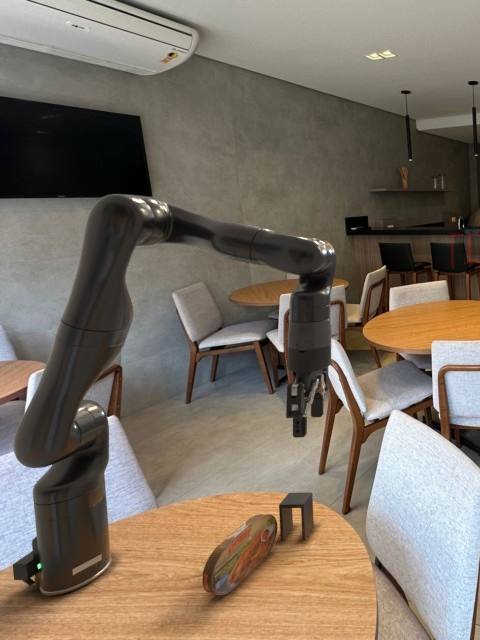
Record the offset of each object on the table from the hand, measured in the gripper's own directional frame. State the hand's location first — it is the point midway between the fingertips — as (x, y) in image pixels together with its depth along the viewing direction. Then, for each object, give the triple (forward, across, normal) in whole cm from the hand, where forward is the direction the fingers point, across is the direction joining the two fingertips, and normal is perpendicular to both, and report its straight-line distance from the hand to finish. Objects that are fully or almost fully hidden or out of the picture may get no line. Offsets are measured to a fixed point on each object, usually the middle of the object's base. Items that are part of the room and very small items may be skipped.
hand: (308, 426), depth 79 cm
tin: (+29, -1, -12) cm, 31 cm away
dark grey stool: (+28, -10, -6) cm, 31 cm away
